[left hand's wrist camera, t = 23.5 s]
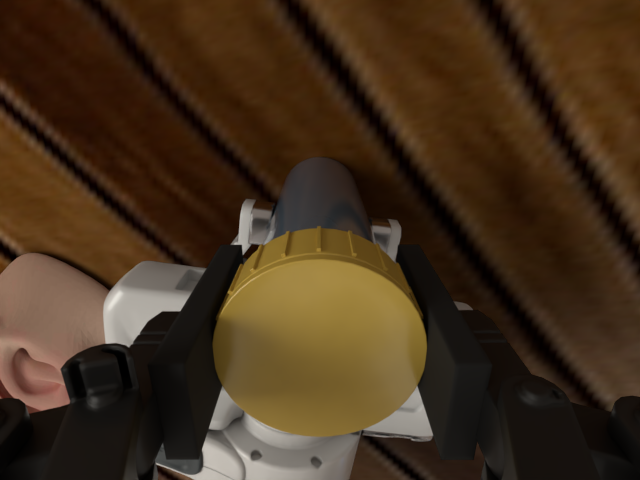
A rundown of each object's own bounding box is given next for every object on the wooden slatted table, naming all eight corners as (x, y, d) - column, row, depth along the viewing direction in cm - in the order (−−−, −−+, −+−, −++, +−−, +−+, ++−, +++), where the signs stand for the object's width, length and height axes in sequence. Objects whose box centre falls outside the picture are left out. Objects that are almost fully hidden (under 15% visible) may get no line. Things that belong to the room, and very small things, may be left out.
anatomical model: (-63, 260, 23) (133, 319, 24) (-10, 236, 27) (157, 288, 28) (-66, 421, 28) (99, 463, 29) (-20, 382, 31) (124, 420, 33)
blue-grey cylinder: (297, 145, 25) (265, 234, 10) (368, 173, 25) (435, 294, 11) (273, 214, 26) (214, 376, 12) (340, 238, 27) (364, 421, 12)
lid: (431, 240, 12) (456, 274, 9) (389, 392, 14) (402, 448, 12) (235, 212, 11) (215, 241, 9) (223, 372, 13) (205, 426, 11)
